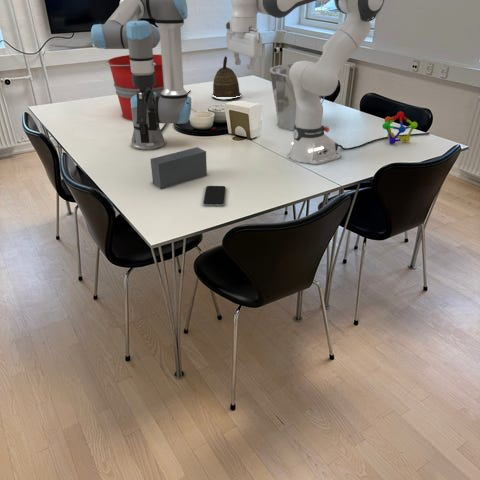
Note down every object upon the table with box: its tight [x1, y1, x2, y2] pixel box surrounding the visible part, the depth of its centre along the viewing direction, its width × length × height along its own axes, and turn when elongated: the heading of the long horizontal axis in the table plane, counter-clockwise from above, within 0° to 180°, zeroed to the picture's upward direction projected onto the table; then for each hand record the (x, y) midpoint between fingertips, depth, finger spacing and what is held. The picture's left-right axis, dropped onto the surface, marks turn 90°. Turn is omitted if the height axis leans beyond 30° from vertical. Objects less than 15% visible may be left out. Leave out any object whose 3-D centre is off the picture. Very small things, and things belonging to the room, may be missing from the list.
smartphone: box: [203, 185, 226, 207], centre depth 161 cm, size 7×1×15 cm
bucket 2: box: [269, 63, 325, 131], centre depth 226 cm, size 30×30×28 cm
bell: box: [212, 56, 242, 97], centre depth 278 cm, size 19×26×20 cm
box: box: [149, 146, 208, 190], centre depth 171 cm, size 21×6×10 cm, turn 128°
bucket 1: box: [104, 54, 164, 121], centre depth 240 cm, size 35×35×30 cm
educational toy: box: [382, 110, 418, 145], centre depth 207 cm, size 16×13×15 cm
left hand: (149, 136), depth 157 cm, fingers open, 13 cm apart
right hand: (244, 66), depth 164 cm, fingers open, 8 cm apart
